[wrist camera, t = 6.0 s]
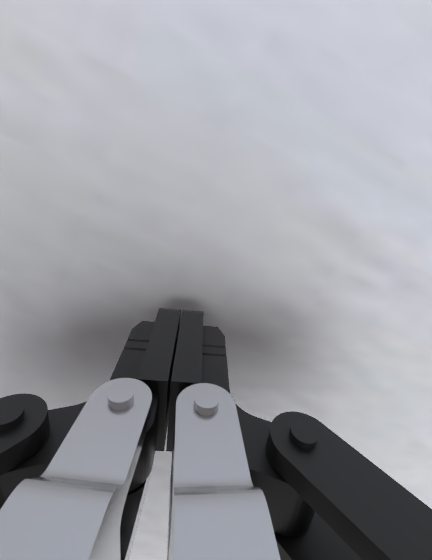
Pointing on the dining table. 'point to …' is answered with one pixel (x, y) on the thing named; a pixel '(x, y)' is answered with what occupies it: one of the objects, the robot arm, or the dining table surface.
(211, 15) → the dining table surface
